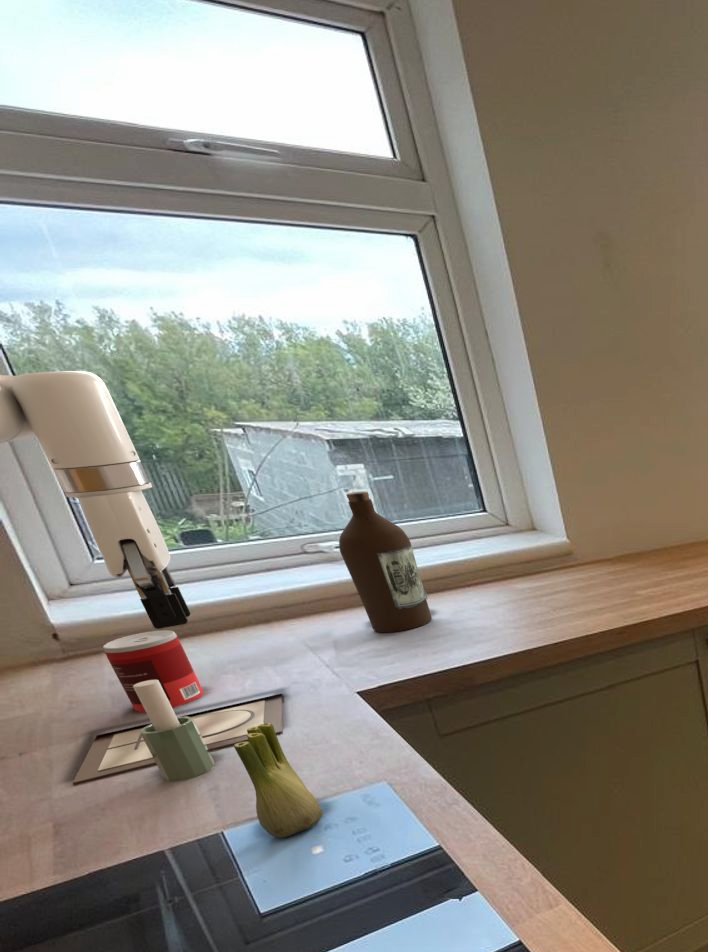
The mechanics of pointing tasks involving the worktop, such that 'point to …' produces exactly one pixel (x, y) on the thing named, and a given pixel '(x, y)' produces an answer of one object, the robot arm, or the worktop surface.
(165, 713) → the cylinder
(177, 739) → the pen cup
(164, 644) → the canned food
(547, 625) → the worktop surface
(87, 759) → the framed abstract picture
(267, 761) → the fennel bulb
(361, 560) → the brown stoneware bottle
